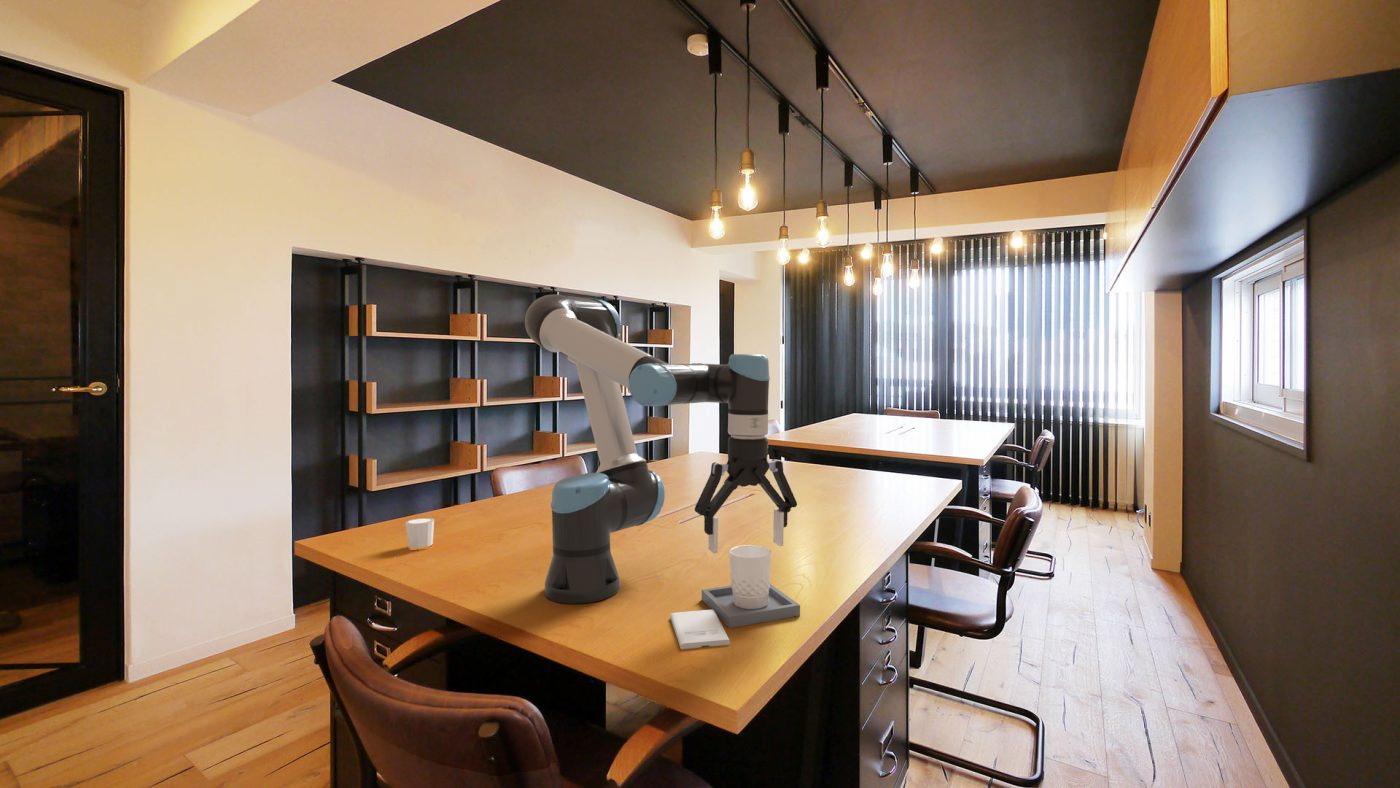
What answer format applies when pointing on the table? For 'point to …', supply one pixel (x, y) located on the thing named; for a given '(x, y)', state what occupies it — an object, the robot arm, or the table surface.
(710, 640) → the external hard drive
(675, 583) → the table surface
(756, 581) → the white cup
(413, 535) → the white short cylinder
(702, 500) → the robot arm
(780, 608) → the tray
